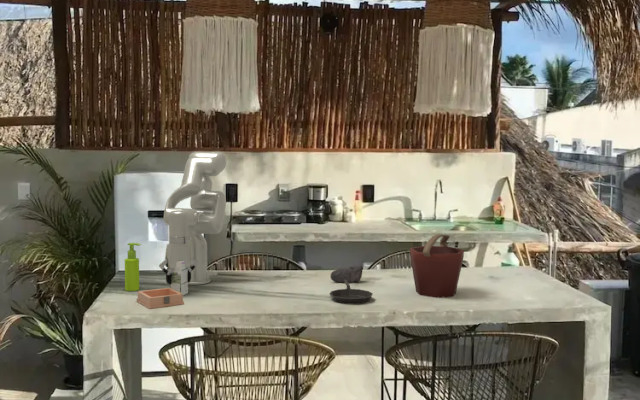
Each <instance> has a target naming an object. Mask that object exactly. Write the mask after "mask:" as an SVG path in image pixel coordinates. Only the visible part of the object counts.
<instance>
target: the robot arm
mask: <svg viewBox="0 0 640 400" xmlns="http://www.w3.org/2000/svg"><path fill="white" fill-rule="evenodd" d="M185 162H186V163H185V166H184V171H183V175H182V179H181V184H180V186H179V187H178V188H176V189H175V190H174V191H173V192H172V193H171V194H170V195H169V196H168V198H167V201H166V204H165V207H164V211H163V221H164V223H165V224H166V225H167V226H168V243H167V244H166V247H165V255H164V260H163V261H162V262H161V263H160V264H159V265H158V267H159V268H160V269H161V271H162V272H163V273H164V274H165V281H166V284H167V285H170V284H171V275H170V273H171V271H172V269H175V268H176V262H178V261H183V260H184V262H185V267H187V269H188V285H193V286H195V285H196V286H197V285H205V284H209V283H210V282H211V281H212V280H211V278H213V277H218V272H217V271H214V272H213V271H208V242H207V239H206V238H205V236H204V234H206V235H209V234H210V235H217V234H220V233H221V232H222V230H223V227H224V221H225V213H226V212H225V211H226V205H227V200H226V199H227V198H226V195H225V193H224V192H223V191H221V190H212V186H213V181H212V179H211V177H216V176H218V175H220V174H221V173H222V172H223V171H224V170H225V168H226V167H227V157H226V154H224V153H223V152H221V151H220V152H219V151H195V152H192V153H190V154H189V156H188V159H187V161H185ZM189 198H190V203H189V205H190V208H188V207H187V208H183V207H182V208H181V207H176V206H177V205H178V204H179V203H181V202H182V201H184V200H187V199H189ZM165 267H166V268H165Z"/></svg>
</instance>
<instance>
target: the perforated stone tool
mask: <svg viewBox="0 0 640 400" xmlns="http://www.w3.org/2000/svg"><path fill="white" fill-rule="evenodd" d="M362 276H363V268H362V267H361V266H353V267H351V266H349V267H343V268H342V267H341V268H337V269H336V270H333V271H332V272H331V273H330V279H331V281H333V282H335V283H343V284H345V282H344V280H343V279H346V280H347V281H348V283H349V284H350V283H351V284H352V283H354V282H355V283H359V282H360V281H361V279H362Z"/></svg>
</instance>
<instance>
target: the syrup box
mask: <svg viewBox="0 0 640 400" xmlns="http://www.w3.org/2000/svg"><path fill="white" fill-rule="evenodd" d="M170 275H171V284H169V288H171V289H174V290H176V291H178V292H180V293H182V294H183V296H185V295H187V294H188V293H189V286H188V285H189V284H188V269H187V267H185V262H184V260H183V261H178V262H176V268H175V269H172V271H171V273H170Z"/></svg>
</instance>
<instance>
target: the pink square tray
mask: <svg viewBox="0 0 640 400" xmlns="http://www.w3.org/2000/svg"><path fill="white" fill-rule="evenodd" d="M136 292H137V298H136V302H137V303H139V304H140V305H142V306H144V307H145V308H147V309H158V308H165V307H172V306H181V305H185V301H184V295H183V294H182V293H180V292H178V291H176V290H174V289H171V288H170V287H164V288H157V289H156V288H155V289H148V290H137V291H136Z"/></svg>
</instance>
